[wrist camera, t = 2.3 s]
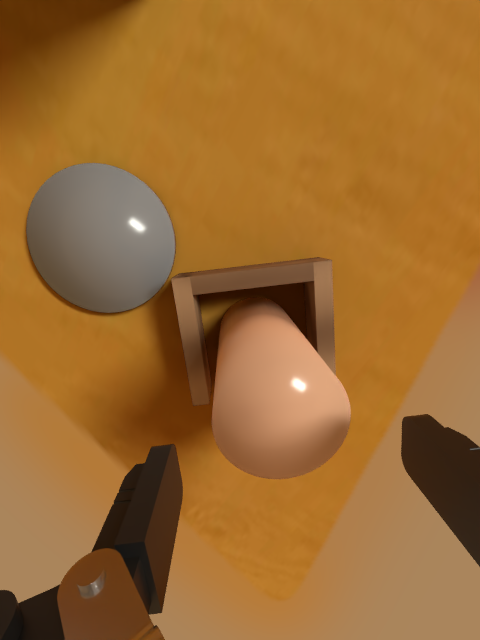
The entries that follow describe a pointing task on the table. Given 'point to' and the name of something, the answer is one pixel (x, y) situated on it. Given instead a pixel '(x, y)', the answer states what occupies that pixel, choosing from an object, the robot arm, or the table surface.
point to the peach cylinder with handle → (274, 395)
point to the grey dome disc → (100, 237)
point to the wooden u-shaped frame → (191, 284)
